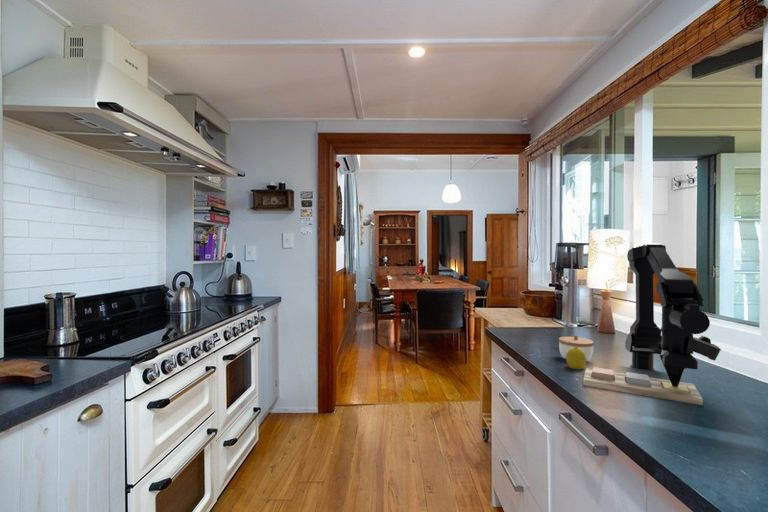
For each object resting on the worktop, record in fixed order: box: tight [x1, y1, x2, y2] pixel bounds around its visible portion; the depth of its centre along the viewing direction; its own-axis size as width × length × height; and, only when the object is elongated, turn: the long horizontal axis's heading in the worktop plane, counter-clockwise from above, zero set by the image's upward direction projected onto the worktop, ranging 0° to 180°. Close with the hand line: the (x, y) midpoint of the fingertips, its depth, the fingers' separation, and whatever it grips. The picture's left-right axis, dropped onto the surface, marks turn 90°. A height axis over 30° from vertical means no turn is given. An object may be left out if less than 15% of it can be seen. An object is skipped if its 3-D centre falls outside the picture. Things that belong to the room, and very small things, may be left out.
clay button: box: [592, 366, 615, 381], centre depth 103 cm, size 5×5×3 cm
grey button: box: [625, 371, 650, 387], centre depth 99 cm, size 5×5×3 cm
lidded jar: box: [558, 334, 595, 362], centre depth 127 cm, size 11×11×9 cm
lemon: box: [565, 347, 587, 370], centre depth 116 cm, size 6×6×8 cm
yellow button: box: [662, 382, 689, 393], centre depth 95 cm, size 5×5×3 cm
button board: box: [582, 367, 704, 406], centre depth 99 cm, size 12×25×3 cm, turn 58°
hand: (675, 386), depth 95 cm, fingers closed, pressing on yellow button
